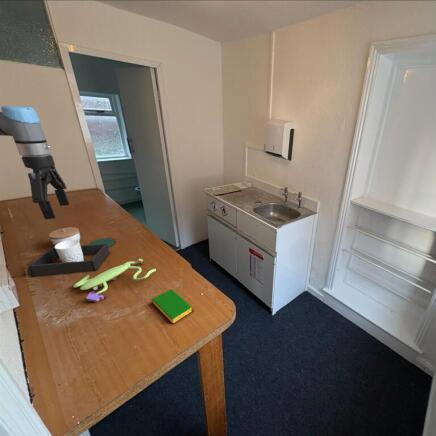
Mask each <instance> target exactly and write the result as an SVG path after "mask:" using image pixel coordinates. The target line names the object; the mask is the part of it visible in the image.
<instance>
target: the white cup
mask: <svg viewBox="0 0 436 436" xmlns="http://www.w3.org/2000/svg"><path fill="white" fill-rule="evenodd" d="M80 245H81V242H80V241H78V240H67V241H63V242H61V243H58V244H57V245H56V246H55V245H54V247H55V249H56V251H57V253H58V255H59V257H58V258H59V260H60V261H61V263H64V262H76V261H85V257H84V255H83V253H82V249H81V246H80Z"/></svg>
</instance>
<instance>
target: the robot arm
mask: <svg viewBox="0 0 436 436" xmlns="http://www.w3.org/2000/svg"><path fill="white" fill-rule="evenodd" d="M0 109H1V111H0V137H1V136H8V137H12V138H13V142H14V144H15V147H16V149H17V152H18V154H19V155H20V156H21V161H22V163H23V165H24V167H25V168H26V169H31V170H32V172H29V173H27V176H28V179H29V185H30V191H31V199H32V203H33V204H38V206H39V209H40V211H41V214H42V215H43V218H44V220H52V219H56V218H57V217H56V215H55V212H54V209H53V207H52V205H51V204H52V203H51V201H50V200H48V186H49V184H50V186H52V187H53V189H54V191H53V192H54V194H55V196H56V199H57V201H58V204H59V207H62V206H63V207H64V206H70V203H69V199H68V197H67V194H66V191H65V190H67V185H66V183H65V181H64V180H63V178H62V177H61V175H60V174H59V172H58V170H57V169H56V166H55V164H56V163H55V160H54V157H53V155H51V150H50V149H51V145H49V144H48V141H47V137H46V135H45V132H44V130H43V129H44V128H43V126H42V124H41V120H40V117H39V116H38V114H37V111H36V110H35V109H34V108H33V107H32V106H31V107H30V106H21V105H20V106H19V105H2V106H1V108H0Z"/></svg>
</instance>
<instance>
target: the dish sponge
mask: <svg viewBox="0 0 436 436" xmlns="http://www.w3.org/2000/svg"><path fill="white" fill-rule="evenodd" d="M152 303H153V305H154V306H155V307H156V308H157V309H158V310H159V311H160V312H161V313H162V315H164V317H166V319H168V320H169V322H170V323H171V324H175V323H177V322H178V321H179V320H182V318H184V317H186V316H188V314H190V313H192V306H191V304H189V303H188V302H187V301H186V300H185V299H184V298H182V296H181V295H179V294H178V293H177V292H176V291H174V290H173V289H168V290H167V291H165V292H163V293H161V294H159V295H157V296H155V297H153V298H152Z"/></svg>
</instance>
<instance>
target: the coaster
mask: <svg viewBox="0 0 436 436" xmlns="http://www.w3.org/2000/svg"><path fill="white" fill-rule="evenodd" d="M94 244H107V245H108V248H109V247H111V246H113V245H114V244H115V239H113V238H110V237H109V238H108V237H105V238H104V237H103V238H99V239H96V240H93V241H91V242H89V243H88V244H87V245H94Z"/></svg>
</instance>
